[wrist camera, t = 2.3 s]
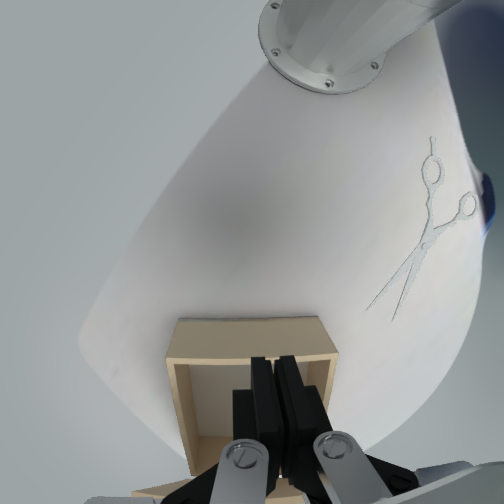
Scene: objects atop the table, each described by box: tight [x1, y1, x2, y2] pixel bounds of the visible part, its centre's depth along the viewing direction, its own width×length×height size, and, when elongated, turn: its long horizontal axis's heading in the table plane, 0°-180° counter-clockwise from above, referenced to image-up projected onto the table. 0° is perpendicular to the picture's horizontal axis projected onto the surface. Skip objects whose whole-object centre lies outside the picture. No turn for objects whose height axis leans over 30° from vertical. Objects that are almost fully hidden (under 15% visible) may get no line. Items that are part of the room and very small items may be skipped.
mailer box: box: [166, 316, 338, 476], centre depth 28 cm, size 18×14×7 cm
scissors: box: [367, 136, 479, 321], centre depth 29 cm, size 11×1×20 cm
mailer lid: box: [132, 478, 305, 504], centre depth 19 cm, size 20×15×1 cm
